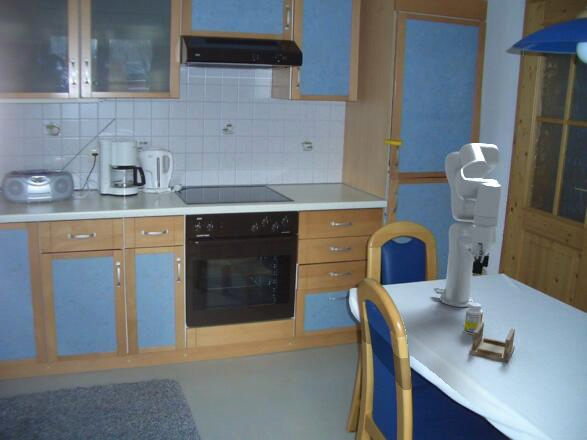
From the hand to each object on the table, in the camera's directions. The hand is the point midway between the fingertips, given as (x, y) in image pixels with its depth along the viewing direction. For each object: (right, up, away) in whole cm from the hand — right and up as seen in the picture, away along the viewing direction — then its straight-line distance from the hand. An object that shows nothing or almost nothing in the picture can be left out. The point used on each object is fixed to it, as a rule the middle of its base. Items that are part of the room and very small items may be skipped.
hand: (480, 269), depth 215 cm
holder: (+1, -25, -9) cm, 27 cm away
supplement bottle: (-1, -22, +5) cm, 23 cm away
